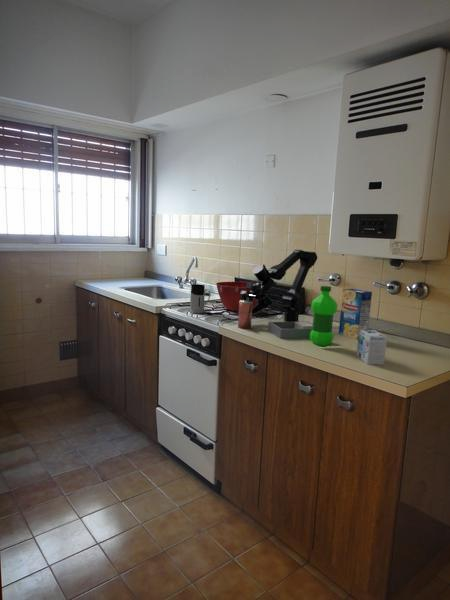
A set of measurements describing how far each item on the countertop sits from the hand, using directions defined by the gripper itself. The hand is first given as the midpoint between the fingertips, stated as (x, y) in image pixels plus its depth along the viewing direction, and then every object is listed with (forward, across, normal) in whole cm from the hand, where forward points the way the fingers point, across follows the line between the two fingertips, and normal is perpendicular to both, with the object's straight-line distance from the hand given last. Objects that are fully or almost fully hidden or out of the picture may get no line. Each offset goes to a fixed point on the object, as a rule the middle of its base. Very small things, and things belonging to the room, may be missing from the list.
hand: (245, 311), depth 204 cm
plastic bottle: (0, +40, +12) cm, 42 cm away
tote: (-1, +23, +12) cm, 27 cm away
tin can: (+6, 0, +6) cm, 8 cm away
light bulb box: (0, +64, +12) cm, 65 cm away
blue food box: (-18, +38, +29) cm, 51 cm away
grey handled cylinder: (+5, -40, +6) cm, 41 cm away
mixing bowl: (-14, -39, +25) cm, 48 cm away
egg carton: (-5, +25, +15) cm, 30 cm away
